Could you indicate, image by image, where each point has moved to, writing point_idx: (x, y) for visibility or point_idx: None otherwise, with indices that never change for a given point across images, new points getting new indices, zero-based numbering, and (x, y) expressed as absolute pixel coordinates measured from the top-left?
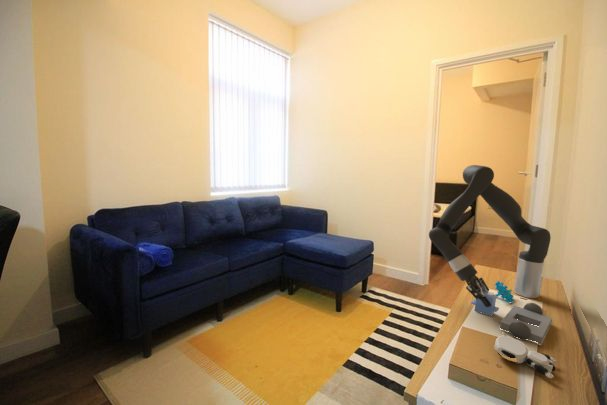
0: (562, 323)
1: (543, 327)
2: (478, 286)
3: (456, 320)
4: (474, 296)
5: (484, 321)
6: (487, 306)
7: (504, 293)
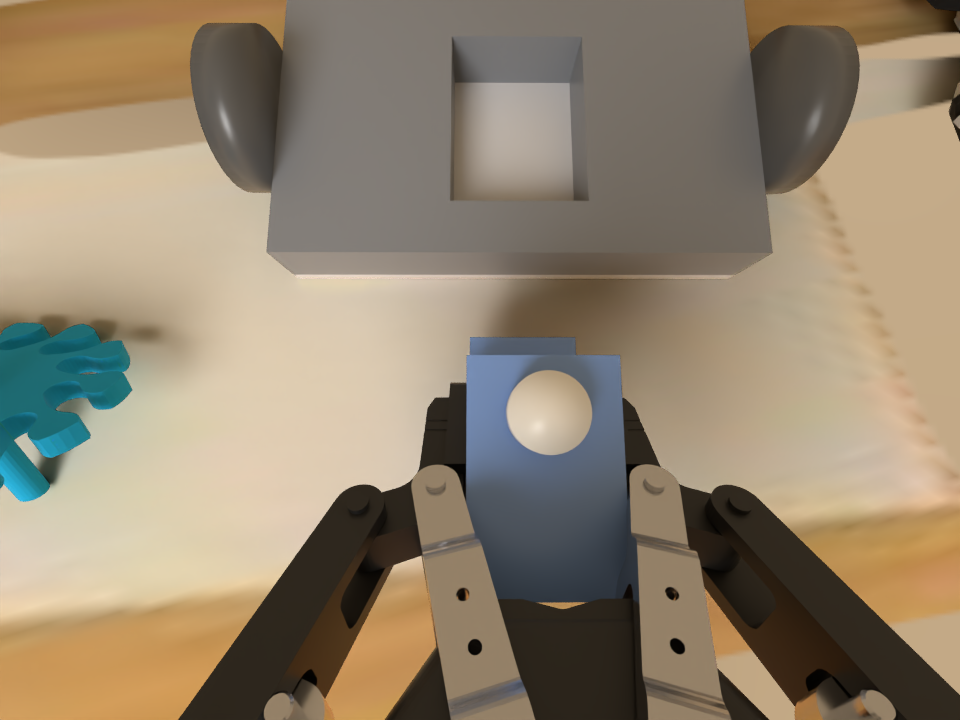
0: (210, 5)
1: (553, 10)
2: (710, 641)
3: (909, 566)
4: (754, 578)
5: (701, 394)
6: None
7: (9, 392)
